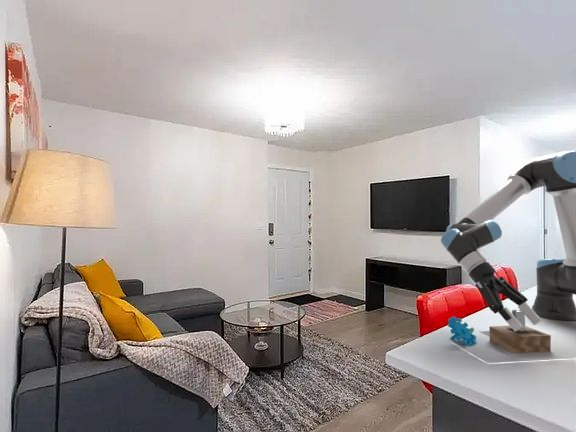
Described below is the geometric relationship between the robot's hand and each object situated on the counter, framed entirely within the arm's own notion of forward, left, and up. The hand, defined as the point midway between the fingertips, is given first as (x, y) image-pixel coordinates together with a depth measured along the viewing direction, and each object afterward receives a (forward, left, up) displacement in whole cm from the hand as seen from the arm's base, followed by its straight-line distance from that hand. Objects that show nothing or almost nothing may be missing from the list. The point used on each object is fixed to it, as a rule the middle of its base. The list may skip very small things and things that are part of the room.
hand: (528, 325), depth 105 cm
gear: (+16, -8, -8) cm, 19 cm away
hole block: (+1, -3, -7) cm, 8 cm away
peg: (+1, -2, -7) cm, 8 cm away
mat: (-1, -13, -7) cm, 14 cm away
